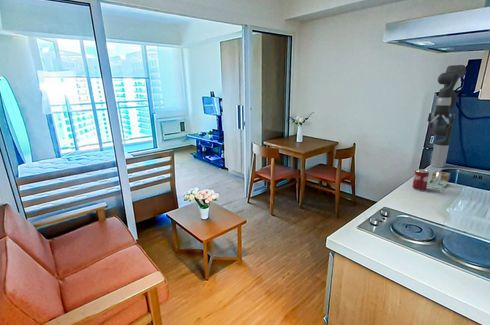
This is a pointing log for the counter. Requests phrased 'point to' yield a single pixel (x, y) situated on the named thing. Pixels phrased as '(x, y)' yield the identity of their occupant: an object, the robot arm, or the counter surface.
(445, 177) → the tan and green block
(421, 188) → the soda can
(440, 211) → the counter surface
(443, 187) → the tray
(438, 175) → the lock pin
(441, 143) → the robot arm
